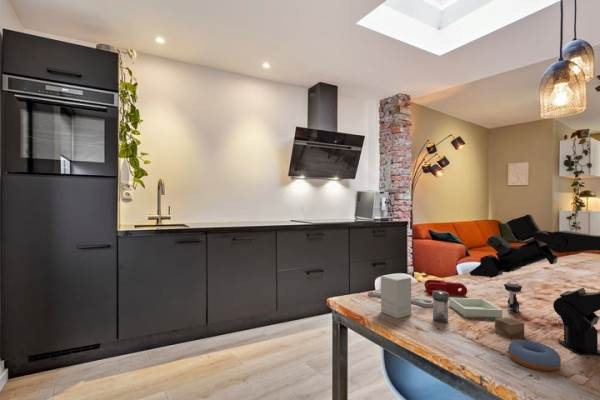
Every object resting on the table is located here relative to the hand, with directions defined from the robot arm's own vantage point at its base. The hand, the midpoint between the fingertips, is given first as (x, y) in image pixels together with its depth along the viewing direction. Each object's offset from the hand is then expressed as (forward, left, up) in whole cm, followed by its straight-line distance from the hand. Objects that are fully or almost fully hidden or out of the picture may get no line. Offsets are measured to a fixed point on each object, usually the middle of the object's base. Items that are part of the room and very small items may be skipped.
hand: (476, 272), depth 100 cm
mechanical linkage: (+28, -1, -16) cm, 32 cm away
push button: (+8, -16, -16) cm, 24 cm away
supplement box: (+2, +26, -16) cm, 30 cm away
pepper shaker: (-3, +13, -15) cm, 20 cm away
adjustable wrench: (+18, +20, -16) cm, 31 cm away
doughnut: (-28, +1, -16) cm, 32 cm away
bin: (+6, -2, -15) cm, 17 cm away
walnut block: (-12, -3, -15) cm, 20 cm away
